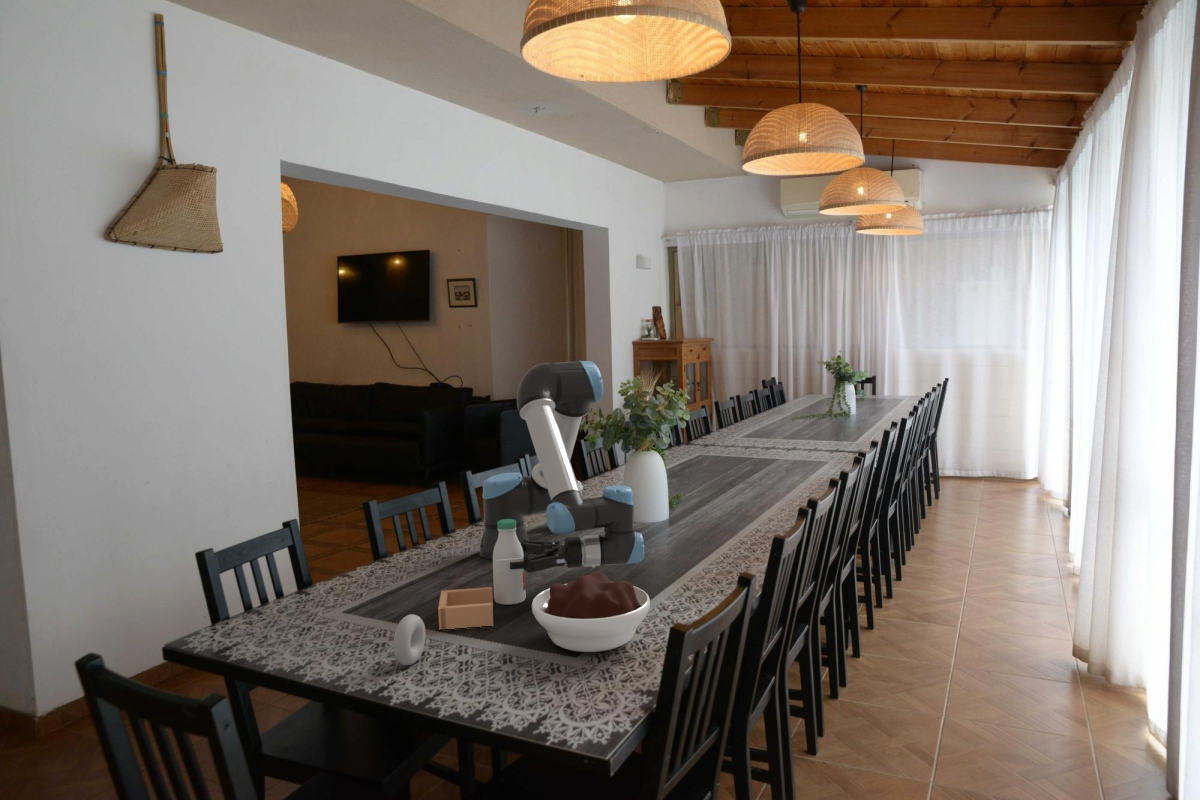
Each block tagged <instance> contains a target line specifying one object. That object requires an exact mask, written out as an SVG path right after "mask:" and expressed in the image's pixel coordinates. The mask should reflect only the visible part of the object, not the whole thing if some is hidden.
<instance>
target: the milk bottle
mask: <svg viewBox="0 0 1200 800" xmlns="http://www.w3.org/2000/svg"><path fill="white" fill-rule="evenodd" d="M497 527H498V531H499V535H498V539H497V542H496V544H495V547H494V550H493V560H492V575H493V577H492V578H493V581H492V582H493V595H494V601H495V603H496V604H499V605H505V606H508V605H517V604H520V603H522V602H524V601H525V600H526V598H527V597H526V594H527V593H526V590H527V589H526V573H525V572H526V570H524V569H523V570H512V571H499V572H496V564H495V560H497V559H512V558H523V556H524V554H523V549H522V546H521V544H520V542H519V540H518V538H517V535H516V520H513V519H503V520H499V521H498V522H497ZM524 557H525V556H524Z"/></svg>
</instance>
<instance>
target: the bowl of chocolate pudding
mask: <svg viewBox="0 0 1200 800" xmlns="http://www.w3.org/2000/svg"><path fill="white" fill-rule="evenodd" d="M650 608H651V599H650V596H649V595H648V593H646V591H645V590H643V589H641V588H639V587H637V586H636V585H633V584H632V582H631V581H629V580H616V581H611V580H609V578H608V576H606V574H605V573H603V572H602V571H598V570H595V571H594V572H593V571H592V572H591V573H589V574H588V575H587V574H584V575H580V576H578V577H577V578H576V579H575V580H571V581H569V582H568V583H559V582H558V583H557V582H553V583H552V585H551V586H550V587H549V588H547V589H544V590H543V591H541V592H540V593H538V594H537V595H536V596H535V597H534V598H533V599H532V603H531V613H532V615H533V616H534V617H535V620H536V621H537V622H538V624H540V625H541V627H543V628H544V629H545V630H546V632H547V635H548V637H549V638H550V640H551V641H552V642H553V644H555V645H556V646H559V647H560V648H563V649H564V650H565V649H566V650H568V651H573V652H581V653H596V652H597V653H598V652H606V651H610V650H613V649H616V648H619V647H621V646H624V645H625V644H627V643H628V642H630V641H631V640H632V639H633V637H634V636H635V634H636V631H637V628H638V626H639V625H640V624H641V623H642V622H643V620H644V619H645V618H646V616H647V614H648V613H649V610H650Z"/></svg>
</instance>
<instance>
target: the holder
mask: <svg viewBox="0 0 1200 800" xmlns="http://www.w3.org/2000/svg"><path fill="white" fill-rule="evenodd" d="M493 595H494V594H493V586H488V587H485V586H484V587H475V588H459V589H447V590H444V589H443V590H441V592H440V597H439V602H438V608H437V611H438V630H440V629H455V628H467V627H480V628H482V627H481V626H492V627H494V612H493V611H494V600H493ZM467 629H468V628H467ZM455 630H456V629H455Z"/></svg>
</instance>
